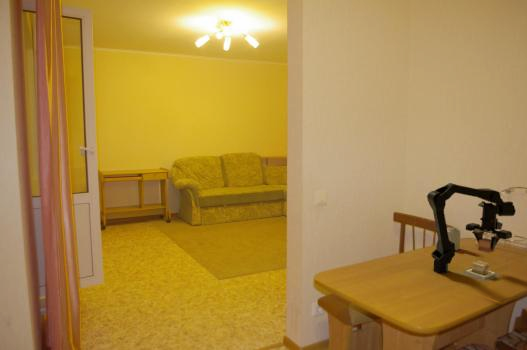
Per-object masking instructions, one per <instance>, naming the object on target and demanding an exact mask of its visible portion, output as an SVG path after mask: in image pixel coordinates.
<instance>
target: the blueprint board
mask: <svg viewBox="0 0 527 350" xmlns="http://www.w3.org/2000/svg"><path fill="white" fill-rule="evenodd" d="M460 274H463V275H467V276H469V277H472V278H475V279H478V280H481V281H484V282H488V281H490V280H492V279H495V278H497V277H500V276H501V274H499V273H496V272H494V271H491V270H489V274H487V275H485V276H482V275H479V274H476V273H473V272H472V267H471V268H469V269H466V270H463V271H461V272H460Z"/></svg>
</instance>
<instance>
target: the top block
mask: <svg viewBox="0 0 527 350" xmlns="http://www.w3.org/2000/svg"><path fill="white" fill-rule="evenodd" d="M477 248H478V249H477V250H478V251H481V252H484V253H487V254H490V253H493V252H495V251H496V247H495V248H494V250H491V238H487V237H484V238H483V239H480V240H479V243H478V247H477Z"/></svg>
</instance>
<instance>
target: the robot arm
mask: <svg viewBox="0 0 527 350" xmlns="http://www.w3.org/2000/svg"><path fill="white" fill-rule="evenodd" d="M454 194H459V195H465V196H470V197H476V198H479V199H481V200H482V201H481V202H480V203H478V205H477V206H478V207H481V208H482V210H481V211H482V213H481V217H480V221H481V225H480V224H478V223H475V222H471V223H468V224H466V225H465V231H469V232H471V234H473V235H474V237H475V239H476V241H477V243H478V244H479V240H480V239H484V238H483V237H484V234H485V233H489V234H493V236H491V237H490V240H491V250H494V248H495V249H496V247H497V245H498V242H499V241H500V239H502V240H508V239H512V238H513V233H512V231H510V230H506V229H502V227H503V222H500V221H499V219H498V218H497V216H499V217H513V216H514V217H515V214H516V208H515V204H514V202H513V201H504V200H503V198H502V197H501V193H500V192H499V191H497V190H496V189H495V190H494V189H492V188H485V187H484V188H475V187H470V186H465V185H460V184H455V183H451V182H449V183H447V184H446V185H443V186H441V187H439V188H436V189H434V190H430V191H429V192H428V193H427V195H426V199H427V201H428V202H427V203H428V204H429V206H430V208H431V210H432V212H433V218H434V224H435V228H436V235H437V241H436V248H435V249H434V250H433V251H432V252H431V258H433V272H434V273H437V274H448V271H449V264H451V262H452V260H453V258H454V257H455V256H456V253H457V250H455V244H454V243H453V242H451V241H450V240H449V237H448V232H447V227H448V226H447V221H446V215H445V207H446V201H447V200H449V199H450V198H451V197H452V196H453V195H454ZM483 200H484V201H483ZM485 201H487V202H485Z"/></svg>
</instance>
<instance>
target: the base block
mask: <svg viewBox="0 0 527 350" xmlns="http://www.w3.org/2000/svg"><path fill="white" fill-rule="evenodd" d="M471 268H472V272H473V273H476V274H479V275H482V276H485V275H487V274H489V271H490V263H488V262H483V261H481V260H477V261H473V262H472V265H471Z"/></svg>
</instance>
